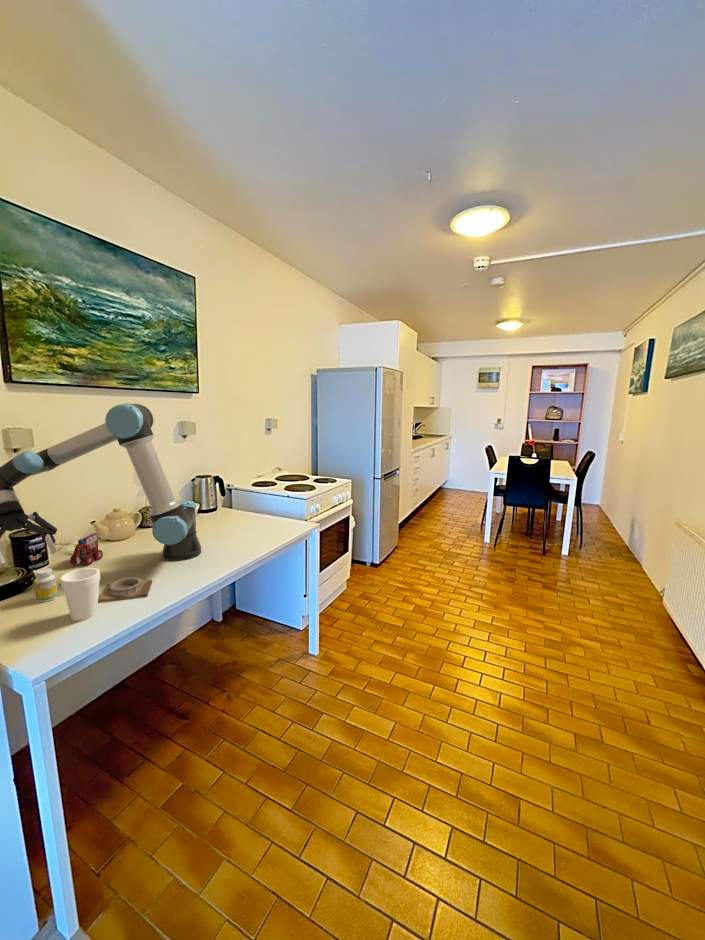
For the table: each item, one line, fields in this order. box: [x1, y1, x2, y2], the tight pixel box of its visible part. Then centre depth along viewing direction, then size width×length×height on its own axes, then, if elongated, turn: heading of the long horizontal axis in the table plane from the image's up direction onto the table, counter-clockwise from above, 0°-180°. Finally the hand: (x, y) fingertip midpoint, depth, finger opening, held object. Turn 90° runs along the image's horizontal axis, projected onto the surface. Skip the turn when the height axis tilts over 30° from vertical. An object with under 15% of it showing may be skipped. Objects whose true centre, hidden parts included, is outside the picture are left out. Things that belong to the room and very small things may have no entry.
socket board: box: [98, 576, 153, 603], centre depth 130 cm, size 14×11×3 cm
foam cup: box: [60, 567, 101, 622], centre depth 114 cm, size 10×9×13 cm
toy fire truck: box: [69, 532, 104, 566], centre depth 152 cm, size 7×12×10 cm, turn 176°
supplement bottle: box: [33, 567, 58, 603], centre depth 123 cm, size 5×5×10 cm
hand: (29, 558), depth 126 cm, fingers open, 13 cm apart
